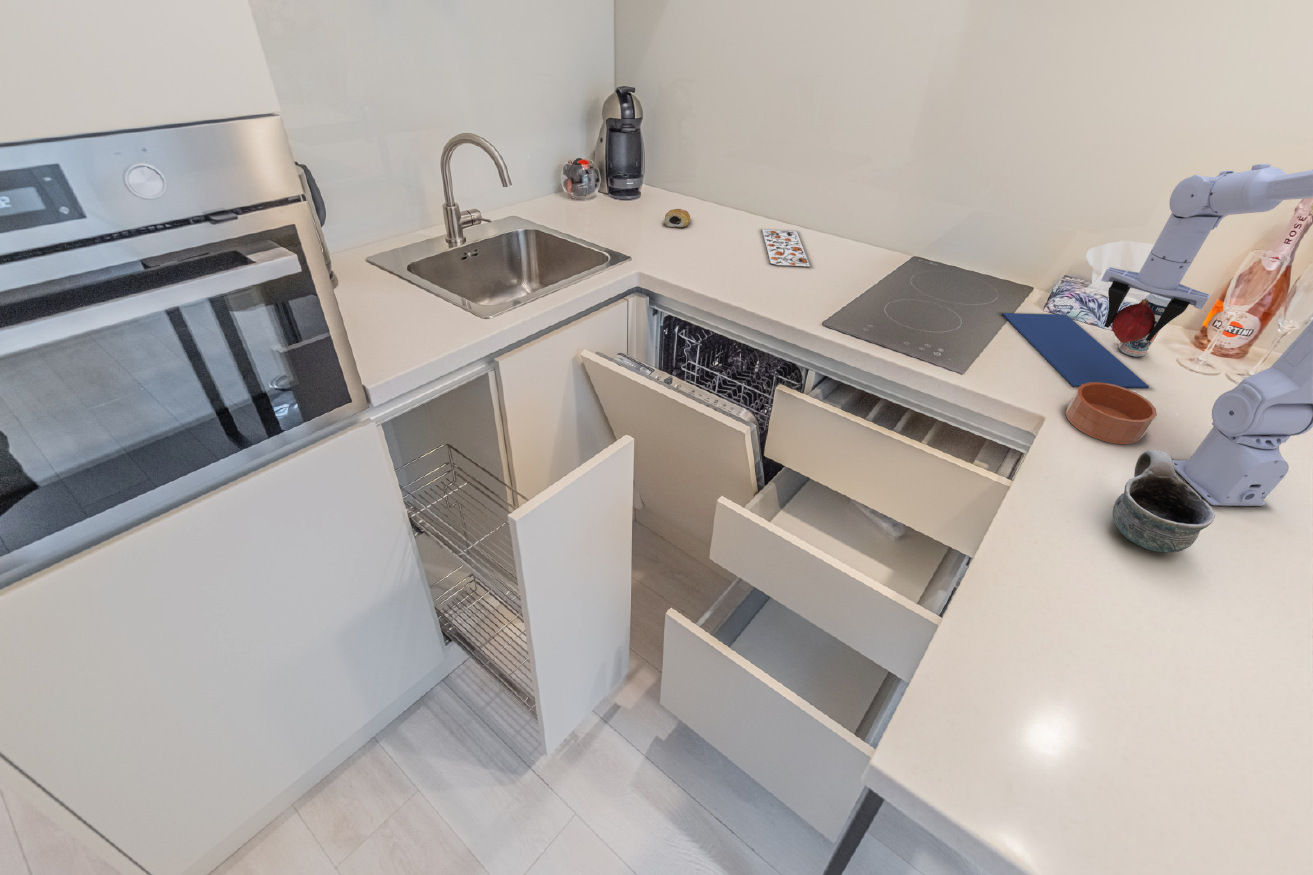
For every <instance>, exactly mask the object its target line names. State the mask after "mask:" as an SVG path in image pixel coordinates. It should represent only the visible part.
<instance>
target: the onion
mask: <svg viewBox="0 0 1313 875" xmlns="http://www.w3.org/2000/svg"><path fill="white" fill-rule="evenodd" d="M1154 325H1155V315H1154V312H1153V311H1152V309H1151V308H1150V307H1149V306H1148V300H1147V299H1145V298H1143V299H1141V301H1140V302H1138V303H1134V304H1129V305H1127V306H1125V307H1123V308H1122V309H1119V310H1118V312H1117V314H1116V315H1115V317H1114V319H1113V322H1112V324H1111V329H1112V332H1113V334H1114V336H1115V338H1116V339H1117V340H1118V341H1119V343H1120V342H1123V343H1125V342H1131V341H1136V340H1139V339H1142V338H1143V337H1145V336H1147V335H1148V334H1149V333H1150V332H1151V331H1152V329H1153V328H1154Z"/></svg>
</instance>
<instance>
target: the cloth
mask: <svg viewBox="0 0 1313 875" xmlns="http://www.w3.org/2000/svg"><path fill="white" fill-rule="evenodd" d="M1002 316H1003V317H1004V319H1006V320H1007V322H1009V323H1010V324H1011V325H1012V326H1013V328H1014V329H1016V331H1018V333H1020V334H1021V335H1022V337H1023V338H1024V339H1025V340H1027V342H1028V343H1029V344H1030V345H1031V346H1032V347H1033V348H1034V349H1035V350H1036V351H1037V352H1038V353H1039V354H1040V355H1041V356H1042V357H1043V358H1044V359H1045V360H1046V361H1047V362H1048V363H1049V364H1050V365H1051V367H1053V368H1054V369H1055V370H1056V371H1057V372H1058V373H1059V374H1060V375H1061V376H1062V377H1063V378H1064V379H1065V380H1066V381H1067V383H1068V384H1070V385H1071V386H1072V388H1079V387H1080V386H1081V385H1082V384H1085V383H1090V382H1103V383H1108V384H1113V385H1117V386H1120V387H1123V388H1126V389H1149V388H1150V386H1149V384H1147V383H1146V382H1145V381H1143V379H1141V378H1140V377H1139V376H1138V375H1137V374H1136V373H1135V372H1134V371H1132V370H1131V369H1130V368H1129V367H1127V366H1126V365H1125V364H1124V363H1123V362H1122V361H1120V360H1119V359H1118V358H1117V357H1116V356H1115V355H1114V354H1112V353H1111V352H1110V351H1109V350H1108V349H1107V348H1105V347H1104V346H1103V345H1102V344H1101V343H1100V342H1098V340H1096V339H1095V338H1094V337H1093V336H1092V335H1090V334H1089V333H1088V332H1087V331H1086V329H1084V328H1082V327H1081V326H1080V324H1078V323H1076V322H1075V321H1074V320H1073V319H1072V318H1071V317H1070V316H1069V315H1067V314H1060V313H1059V314H1057V313H1054V314H1053V313H1017V312H1016V313H1015V312H1014V313H1013V312H1012V313H1011V312H1003V313H1002Z"/></svg>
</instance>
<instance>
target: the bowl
mask: <svg viewBox="0 0 1313 875" xmlns="http://www.w3.org/2000/svg"><path fill="white" fill-rule="evenodd" d="M1065 416H1066V419H1067V420H1068V422H1069V423H1070V424H1071V425H1072V426H1073V427H1074V428H1075V429H1077V430H1078V431H1080V432H1082V433H1083V434H1085V435H1087V436H1089V437H1092V438H1093V439H1096V440H1098V441H1102V442H1106V443H1110V444H1115V445H1132V444H1135V443H1138V442H1139V441H1141V439H1142V438H1143V436H1145V434H1146V433H1147V431H1148V430H1149V428H1150V427H1151V425H1152V424H1153V422H1154V421H1155V419H1156V418H1157V416H1158V412H1157V408H1156V407H1155V406H1154V404H1153V403H1152V402H1151V401H1150V400H1148V399H1147V398H1145V396H1143V395H1141V394H1139V393H1137V392H1135V391H1133V390H1131V389H1130V388H1123V387H1120V386H1117V385H1113V384H1108V383H1103V382H1090V383H1085V384H1082V385H1081V386H1080V387H1077V388H1076V391H1075V392H1074V394H1073V396H1072V398H1071V400H1070V401H1069V403H1068V406H1067V408H1066V410H1065Z"/></svg>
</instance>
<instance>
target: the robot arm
mask: <svg viewBox="0 0 1313 875" xmlns="http://www.w3.org/2000/svg"><path fill="white" fill-rule="evenodd" d="M1303 199H1304V200H1305V199H1313V169H1310V170H1303V171H1298V172H1293V173H1286V172H1285V171H1284V170H1283V169H1282V168H1279V167H1276V166H1272V164H1270V163H1257V164H1253V165H1251V168H1250V170H1244V171H1237V172H1234V170H1221V171H1219V174H1218V175H1216V176H1204V175H1200V174H1193V175H1191V176H1189V177H1186V178H1184V179H1182V180H1181V181H1179V182H1178V183H1177V184H1176V186H1174V188H1173V190H1172V192H1171V194H1170V198H1169V209H1170V212H1171V213H1170V215H1169V217H1168V219H1167V220H1166V222H1165V224H1164V226H1163V228H1162V229H1161V231H1160V234H1159V235H1158V237H1157V238H1156V241H1155V243H1154V245H1153V246H1152V248H1151V250H1150V252H1149V253H1148V255H1147V257H1146V259H1145V261H1144V263H1143V265H1142V267H1141V268H1140V270H1139V272H1138V271H1131V270H1125V269H1120V268H1116V267H1111V266H1109V267H1107V269H1106V270H1105V272H1104V273H1103V276H1102V278H1101V279H1100V281H1101V282H1105V283H1109V282H1110V283H1111V284H1110V286H1109V287H1108V292H1107V294H1108V308H1107V316H1106V320H1105V323H1104V326H1103V327H1104V328H1107V329H1109V328H1110V327H1111V326H1112V322H1113V319H1114V317H1115V315H1116V314H1117V313H1118V312H1119V311H1120V307H1121V306H1122V303H1123V302H1124V300H1125V299H1126V297H1127V295H1128V293H1129V291H1130V289H1134V290H1138V291H1141V292H1145V293H1148V294H1155V295H1158V296H1162V297H1165V298H1169V299H1171V301H1170V302H1169V303H1168V305H1167V307H1166V308H1165V310H1164V312H1163V313H1162V315H1161V317H1160V319H1159V320H1158V322H1157V324H1156V325H1155V326H1154V328H1153V329H1152V331H1151V332H1150V333H1149V335H1148V336H1147V338H1146V340H1148V341H1151V339H1152V338H1153V337H1154V336H1155V334H1156V333H1157V332H1158V331H1159V330H1162V329H1163V328H1164V327H1165V326H1167V324H1169V323H1170V322H1171V321H1173V320H1174V319H1176V318H1177V317H1179V316H1180V315H1182V314H1183V313H1185V311H1186V310H1187V308H1188V307H1189V305H1190V306H1193V308H1196V309H1198V310H1203V308H1204V306H1205V305H1206V303H1207V302H1208V301H1209V298H1210V297H1211V294H1210V293H1206V292H1203V291H1200V290H1197V289H1194V288H1193V287H1189V286H1187V285H1184V284H1182V283H1181V282H1182V280H1183V278H1184V277H1185V275H1186V274H1187V272H1188V271H1189V268H1191V265H1192V263H1193V262H1194V260H1195V259H1196V257H1197V255H1198V253H1199V251H1200V250H1201V249H1202V246H1203V245H1204V243H1205V241H1206V240H1207V238H1208V237H1209V235H1210V233H1211V231H1212V230H1214V229H1215V228H1218V226H1219V224H1220V223H1221V221H1223V219H1224V218H1225V217H1227V216H1233V215H1245V214H1255V213H1256V214H1257V213H1265V212H1269V211H1271V210H1274V209H1275V208H1276V207H1278V206H1279V205H1280V204H1281V203H1282V202H1284V201H1288V200H1289V201H1291V200H1303ZM1159 332H1160V331H1159ZM1159 332H1158V333H1159ZM1211 418H1212V423H1211V425H1212V428H1211V429H1210V430H1209V431H1208V433H1207V434H1206V436H1205V437H1204V439H1203V440H1202V441H1201V442H1200V444H1199V445H1198V446H1197V448H1196V449H1195V451H1194V452H1193V454H1192V455H1191V456H1190V458H1189V459H1188V460H1184V459H1183V460H1181V459H1172V461H1173V465H1174V470H1175V472H1176V473H1178V474H1179V475H1180V476H1181V477H1182V478H1183V479H1184V480H1185V481H1186V482H1187V483H1189V486H1190V487H1191V488H1192V489H1193V490H1194V491H1195V492H1196V493H1197V494H1198V495H1199V496H1201V497H1203V499H1205V501H1206V502H1207V503H1208V504H1209V505H1210V506H1211V505H1212V506H1229V507H1230V506H1235V507H1237V506H1238V507H1239V506H1242V507H1264V506H1265V505H1266V502H1265V501H1264V500H1266V498H1267V497H1268V496H1269V495H1270V494H1271V492H1272V491H1274V489H1275V488H1276V487H1277V485H1278V484H1279V483H1280V482H1281V481H1282V480H1283V479H1284V478H1285V477H1286V475H1287V474H1288V472H1289V469H1290V467H1289V464H1288V462H1287V461H1286V460H1285V458H1284V457H1283V456H1282V453H1281V451H1280V446H1281V445H1282V444H1285V443H1286V442H1287V441H1288V440H1289V439H1290V438H1291V437H1292V436H1293V437H1294V436H1300V435H1304V434H1306V433H1307V432H1309V431H1310V430H1311V429H1313V320H1311V322H1309V323H1308V325H1307V326H1306V327H1305V328H1304V329H1303V331H1302V332H1300V334H1299V335H1298V336H1297V337H1296V338H1295V340H1294V341H1293V342H1292V343H1291V344H1290V345H1289V346H1288V347H1287V348H1286V350H1285V351H1283V352H1282V354H1281V355H1280V356H1279V357H1278V358H1277V359H1276V361H1274V363H1273V364H1272V365H1271V366H1269V367H1268V368H1266V369H1263V370H1261V371H1259V372H1257V373H1254V374H1252V375H1249V376H1247V377H1245V378H1243V379H1242V380H1241V381H1240V382H1239V383H1238V384H1237V385H1236V386H1235V387H1234V388H1231V390H1227V391H1225V392H1223V393H1222V394H1220V395H1219V396H1218V397H1217V398H1216V400H1214V403H1213V405H1212V409H1211Z"/></svg>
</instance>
